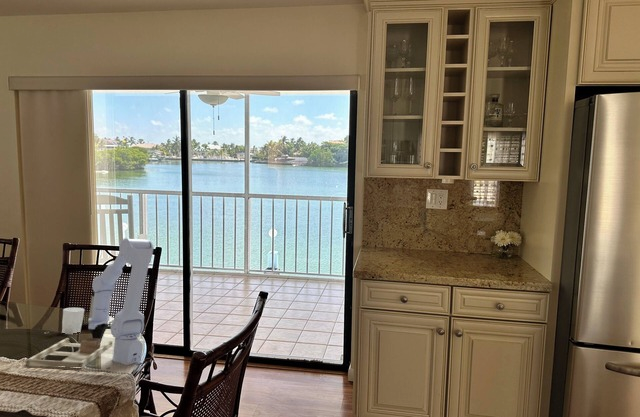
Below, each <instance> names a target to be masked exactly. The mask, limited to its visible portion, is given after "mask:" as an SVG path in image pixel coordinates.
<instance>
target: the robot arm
mask: <svg viewBox="0 0 640 417" xmlns="http://www.w3.org/2000/svg"><path fill="white" fill-rule="evenodd" d="M153 253H154V245H153V242H152V241H151V239H148V238H145V239H144V238H143V239H142V238H141V239H140V238H127V237H126V238H125V237H124V238H123V239H122V240H121V241H120V243H119V253H118V254H117V256H116V258H115V260H114V262H113V263H110V264H108V265H107V266H106V268H105V269H104V271H103V272H102V273H101V274H100V275H98V276H95V277H94V279H93V280H92V290H93V291H94V292H95V294H94V302H93V311H92V318H90V319H89V318H88V320H87V322H88V327H87V328H88V330H89V331H90V332H91V338H98V339H101V341H100V344H101V342H102V340H103V337H104V335H105V332H106V330H107V329H108V327H109V323H108V324H104V323H107V322H109V321H110V315H109V314H110V308H109V306H111V300H110V298H111V299H112V296H113V294H114V291H115V289H116V282H117V281H118V279H119V278H120V276H121V275H122V274H123V268H124V266H125V265H126V264H128V265H130V266H131V271H130V274H129V275H130V276H129V281H128V283H127V284H128V285H127V289H126V293H125V299H124V302H123V308H122V309H121V310H119V311H118V312H117V313H116V314H115V315H114V317H113V321H112V322H111V324H110V333H111V335H112V336H113V338H115V339H114V345H113V354H112V355H113V356H112V361H113V363H119V364H122V365H124V366H125V365H126V366H128V365H131V364H132V365H133V364H135V365H140V364H143V361H142V354H143V347H144V346H143V343H142V341H140V340H139V339H138V338H139V337H140V335H141V334H142V333H143V331H144V329H145V315H144V314H143V313H142V312H141V311H140V307H141V302H142V298H143V297H142V296H143V292H144V288H145V283H146V280H147V275H148V270H149V267H150V266H149V265H150V264H151V261H152V259H153V258H152V256H153ZM108 315H109V316H108ZM89 321H90V323H89Z"/></svg>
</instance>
